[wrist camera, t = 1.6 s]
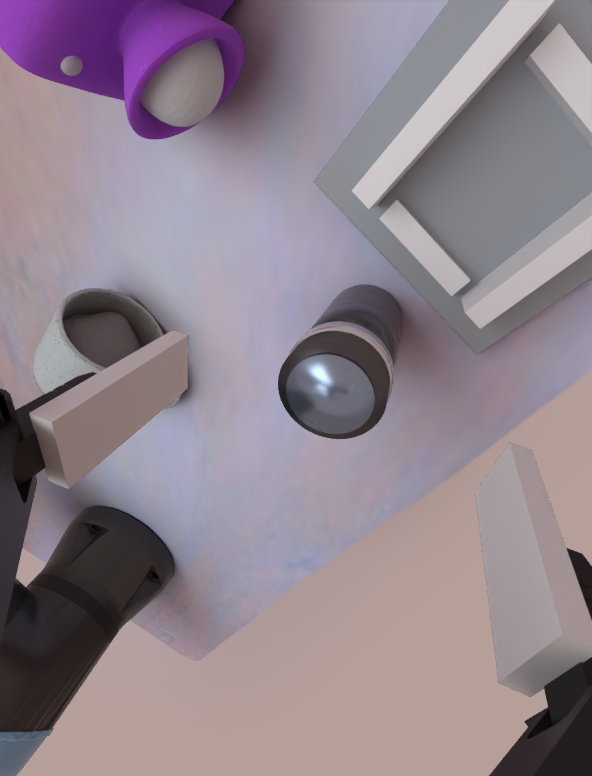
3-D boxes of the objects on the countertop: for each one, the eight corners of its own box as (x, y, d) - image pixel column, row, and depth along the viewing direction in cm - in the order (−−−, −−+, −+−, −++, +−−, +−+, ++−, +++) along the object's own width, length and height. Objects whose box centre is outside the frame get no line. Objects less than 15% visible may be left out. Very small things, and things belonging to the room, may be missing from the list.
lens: (362, 370, 26) (330, 461, 18) (311, 320, 26) (252, 389, 17) (421, 323, 23) (415, 405, 15) (365, 265, 23) (326, 316, 14)
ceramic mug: (78, 332, 33) (-3, 369, 27) (117, 275, 29) (31, 304, 23) (161, 414, 35) (104, 467, 29) (209, 373, 31) (154, 424, 25)
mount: (474, 347, 23) (483, 376, 20) (318, 181, 21) (297, 181, 18) (710, 184, 16) (785, 185, 13) (513, -75, 15) (538, -154, 11)
